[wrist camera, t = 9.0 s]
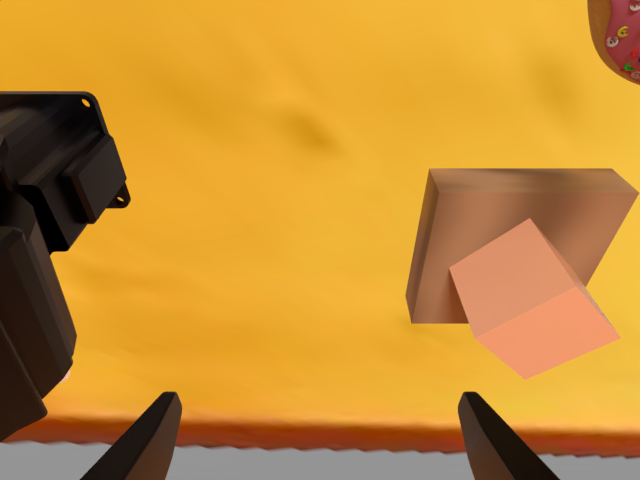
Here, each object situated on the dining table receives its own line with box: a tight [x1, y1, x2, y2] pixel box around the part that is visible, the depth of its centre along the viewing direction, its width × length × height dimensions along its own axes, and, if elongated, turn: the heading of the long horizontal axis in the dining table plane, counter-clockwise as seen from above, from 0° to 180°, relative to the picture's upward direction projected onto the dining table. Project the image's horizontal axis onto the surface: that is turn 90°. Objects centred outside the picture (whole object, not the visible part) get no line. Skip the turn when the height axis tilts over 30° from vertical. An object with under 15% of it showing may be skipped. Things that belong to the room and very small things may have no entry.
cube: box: [449, 218, 621, 380], centre depth 22 cm, size 5×5×5 cm
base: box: [405, 168, 639, 324], centre depth 25 cm, size 10×10×2 cm
